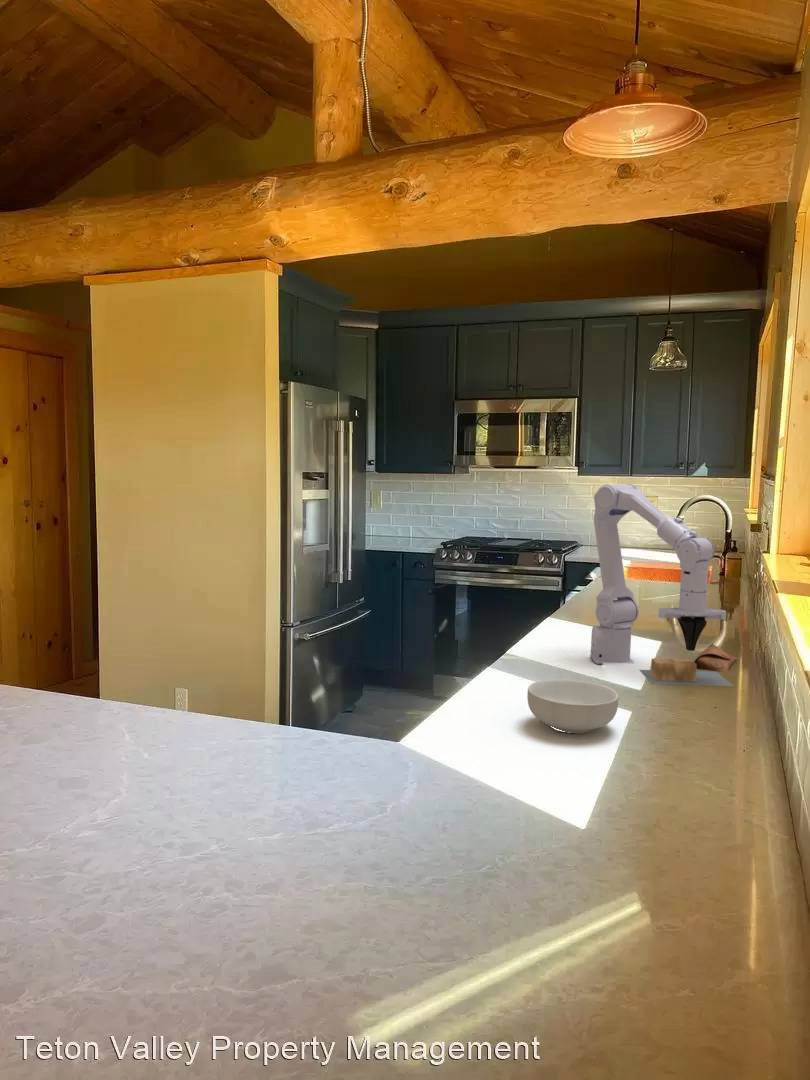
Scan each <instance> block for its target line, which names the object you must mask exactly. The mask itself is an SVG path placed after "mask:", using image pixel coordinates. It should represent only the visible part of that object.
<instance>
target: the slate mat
mask: <svg viewBox="0 0 810 1080" xmlns="http://www.w3.org/2000/svg"><path fill="white" fill-rule="evenodd" d="M639 672H641V674H642V675H643V676H644V677H645V678H646V679H647V680H648V682H650V683H651V685H671V686H700V687H701V686H704V687H705V686H707V687H708V686H709V687H734V684H732V683H731V682H730V681H728V680H727V679H726V678H725V677H723V676H722V675H721V674H719V673H718V671H702V670H701V671H699V670H698V671H697V670H696V681H661V680H655V679H654V678H653V677H652V676H651V669H639Z"/></svg>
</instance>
